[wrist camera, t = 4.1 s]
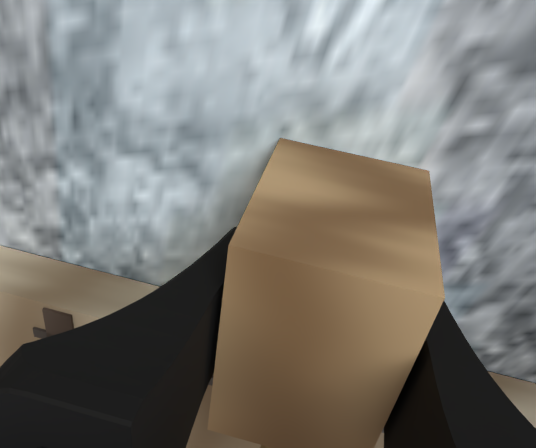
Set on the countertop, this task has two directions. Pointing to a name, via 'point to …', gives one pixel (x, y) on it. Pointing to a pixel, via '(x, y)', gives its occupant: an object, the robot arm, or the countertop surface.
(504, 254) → the countertop surface
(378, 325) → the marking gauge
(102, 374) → the robot arm
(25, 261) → the maple board
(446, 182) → the countertop surface
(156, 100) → the countertop surface
